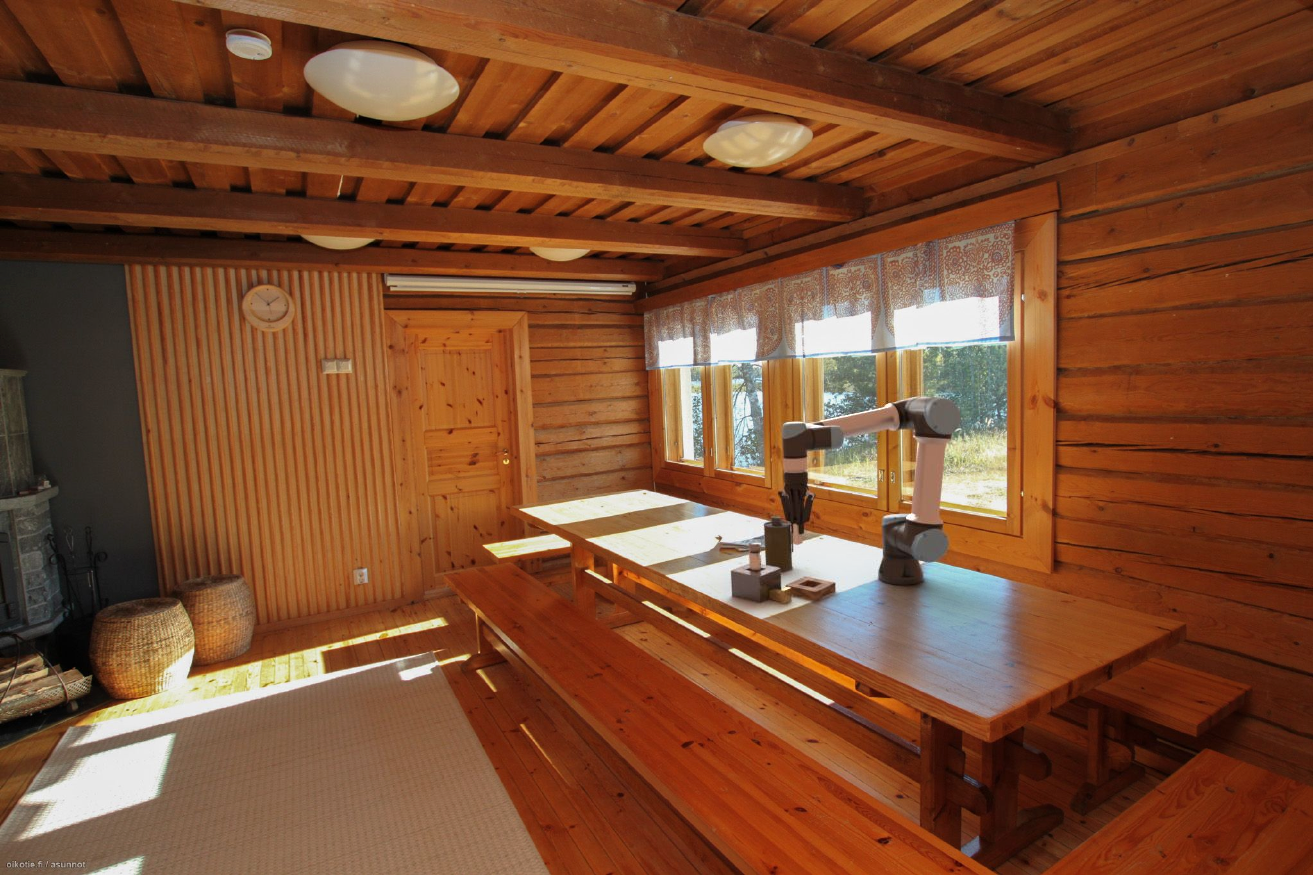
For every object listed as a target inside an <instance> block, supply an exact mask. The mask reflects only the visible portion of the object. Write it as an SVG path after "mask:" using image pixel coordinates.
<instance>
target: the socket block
mask: <svg viewBox="0 0 1313 875" xmlns="http://www.w3.org/2000/svg"><path fill="white" fill-rule="evenodd" d="M761 566H762V571H760V572H753V571H750V563H748V564H744V565H742V566H739V567H737V568H734V569H732V570H730V581H731V582H730V584H731V586H730V587H731V597H733V598H738V599H742V600H744V601H745V600H746V601H749V602H753V603H758V604H761V603H762V604H763V603H764V602H767V601H768V600H769V599H768V589H770V588H773V589H777V590H781V589H782V572H781V568H778V567H773V566H768V565H766V564H762V563H761Z"/></svg>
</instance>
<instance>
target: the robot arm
mask: <svg viewBox="0 0 1313 875" xmlns="http://www.w3.org/2000/svg"><path fill="white" fill-rule="evenodd" d="M961 416H962V415H961V411H960V409H959V407H958V405H956V403H955V402H954V401H953V400H951V399H949V398H945V397H941V396H914V397H910V398H906V399H902V400H897V401H896V402H890V403H887V404H886V405H885V406H884V407H880V408H876V409H871V410H866V411H862V412H857V413H853V414H852V413H851V414H848V415H842V416H838V417H833V418H828V419H823V420H819V421H812V422H808V423H806V422H805V421H790V422H785V423H783V425H782V427H781V428H782V429H781V440H782V456H783V457H782V464H783V465H782V466H783V482H784V486H783V489H782V490H779V491H777V494H778V496H779V498H780V501H781V505H782V510H783V514H784V518H785V521H786V522H789V523H791V528H792V529H791V530H792V533H793V545H796V546H799V545H801V544H803V543H804V542H803V540H804V539H803V534H805V524H807V523H809V522H810V520H811V519H810V518H811V514H812V507H813V503H814V500H815V498H816V496H817V495H816V493H812V491H810V488H809V486H808V484H809V483H808V482H809V472H808V471H807V470H808V467H809V466H808V452H812V451H826V450H827V451H828V450H831V451H832V450H837V449H840V448H842V447H843V444H844V443H845V442H844V441H845V439H849V438H853V437H858V436H862V435H867V434H872V433H877V432H881V431H886V430H889V431H892V432H895V431H899V430H900V431H901V430H907V431H908V430H910V431H911V430H912V431H913V436H912V437H913V439H915V440H916V441H917V446H916V449H917V450H916V459H915V460H916V461H915V469H914V470H915V471H914V480H913V490H912V502H911V513H896V514H895V513H894V514H887V515H885V516H883V517H882V519H881V529H882V531H881V535H882V536H881V540H882V559H881V560H880V564H879V568H878V569H877V570H878V571H877V573H878V574H877V576H878V577H877V578H878V579H879V580H880V581H881V582H883V583H887V584H891V585H899V586H900V585H901V586H903V585H904V586H905V585H906V586H907V585H908V586H909V585H910V586H911V585H917V584H920V583H922V582H923V581H924V571H923V569H922V565H921V563H920V562H924V563H929V564H930V563H935V562H937V561H939V560H941V559H942V558H943V557H944V556H945V555H946V553H947V551H948V549H949V547H950V546H949V545H950V543H949V537H948V536H947V534H946V533H945V532H944V531H943V529H944V521H943V519H941V517H940V509H941V508H940V507H941V500H942V499H941V497H942V489H943V488H942V487H943V476H944V467H945V466H944V465H945V454H946V445H947V444H948V443H950V442H951V441H952V435H953V433H954V432H955V431H956V430H957V429H958V428H959V426H960V424H961V420H962V418H961Z"/></svg>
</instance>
